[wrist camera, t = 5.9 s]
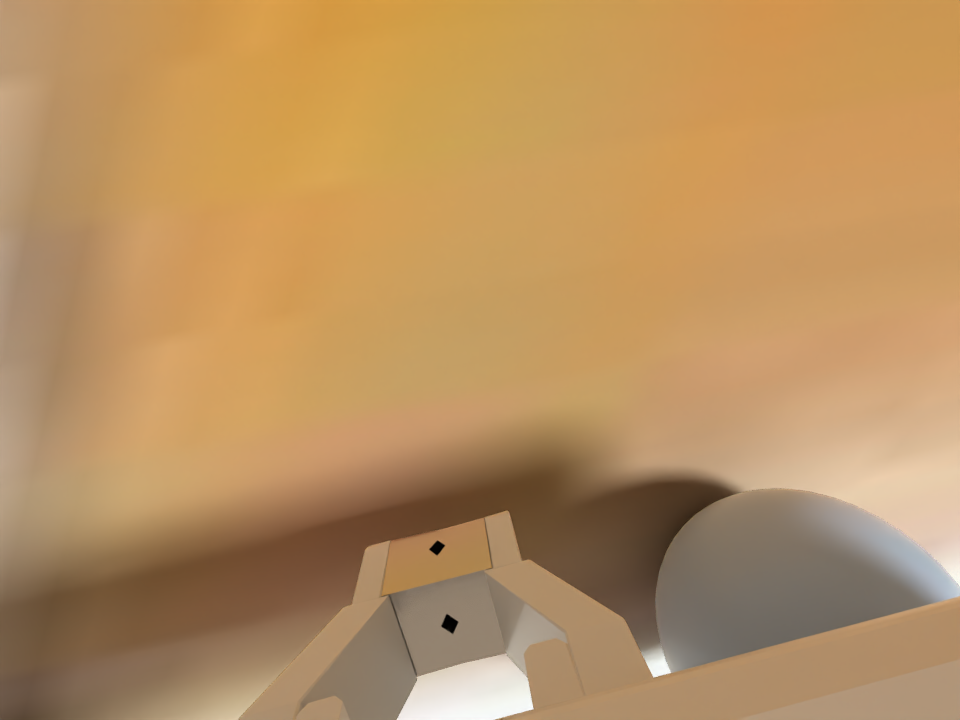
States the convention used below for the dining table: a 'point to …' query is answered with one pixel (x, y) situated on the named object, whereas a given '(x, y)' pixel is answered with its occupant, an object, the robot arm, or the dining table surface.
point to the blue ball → (784, 574)
